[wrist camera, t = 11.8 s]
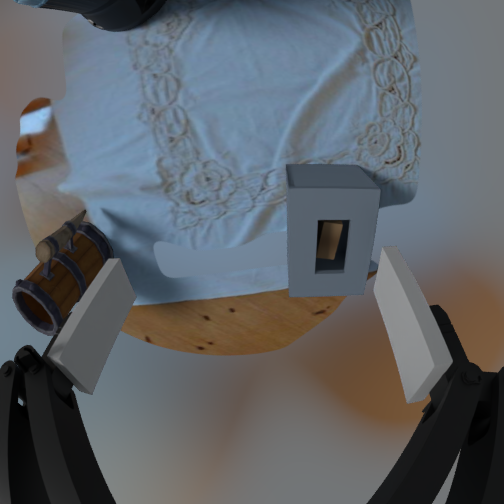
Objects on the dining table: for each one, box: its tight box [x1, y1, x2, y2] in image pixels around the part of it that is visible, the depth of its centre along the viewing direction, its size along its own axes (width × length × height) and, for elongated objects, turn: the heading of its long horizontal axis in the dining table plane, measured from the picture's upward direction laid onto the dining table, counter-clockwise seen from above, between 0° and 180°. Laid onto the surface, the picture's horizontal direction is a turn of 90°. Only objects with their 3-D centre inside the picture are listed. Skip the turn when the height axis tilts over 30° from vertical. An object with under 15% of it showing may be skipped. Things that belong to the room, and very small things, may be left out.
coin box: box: [286, 164, 381, 297], centre depth 39 cm, size 16×11×11 cm
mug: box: [12, 210, 114, 336], centre depth 42 cm, size 19×14×20 cm
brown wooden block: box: [316, 220, 343, 260], centre depth 40 cm, size 6×3×8 cm, turn 175°
